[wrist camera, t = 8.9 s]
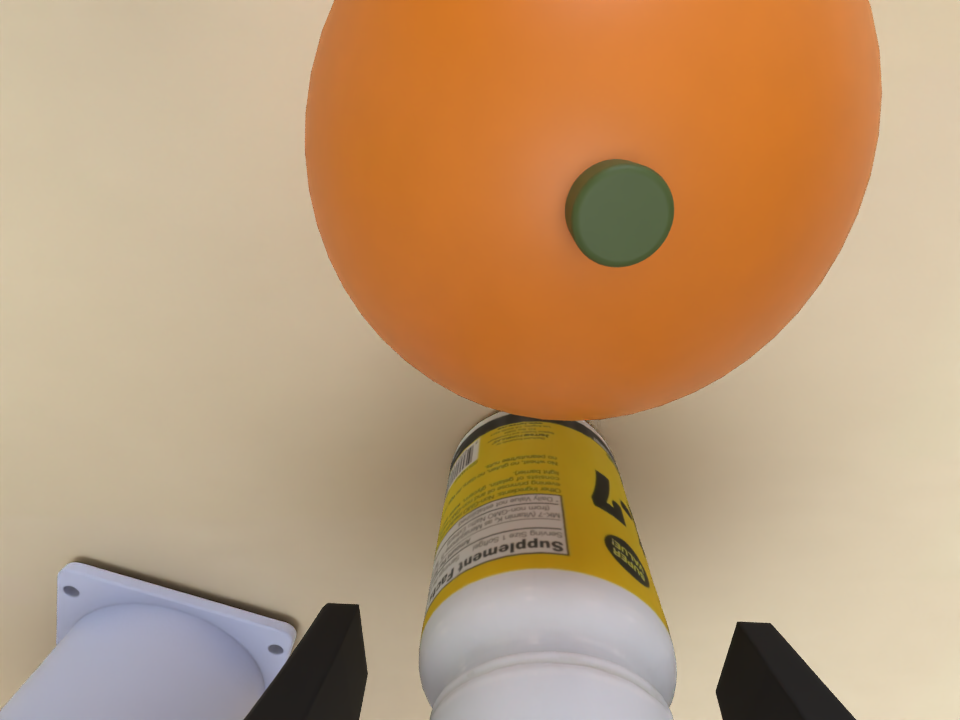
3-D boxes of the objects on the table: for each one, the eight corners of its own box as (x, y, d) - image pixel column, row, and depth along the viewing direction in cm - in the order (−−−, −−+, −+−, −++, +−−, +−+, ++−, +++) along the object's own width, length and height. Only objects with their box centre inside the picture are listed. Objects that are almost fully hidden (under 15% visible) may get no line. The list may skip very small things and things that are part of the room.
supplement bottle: (630, 515, 15) (750, 903, 8) (481, 548, 16) (457, 926, 9) (592, 379, 14) (700, 711, 6) (426, 424, 14) (334, 764, 7)
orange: (625, 359, 13) (769, 654, 6) (341, 254, 12) (102, 444, 5) (803, 35, 10) (1583, -195, 3) (441, -132, 9) (193, -1067, 2)
